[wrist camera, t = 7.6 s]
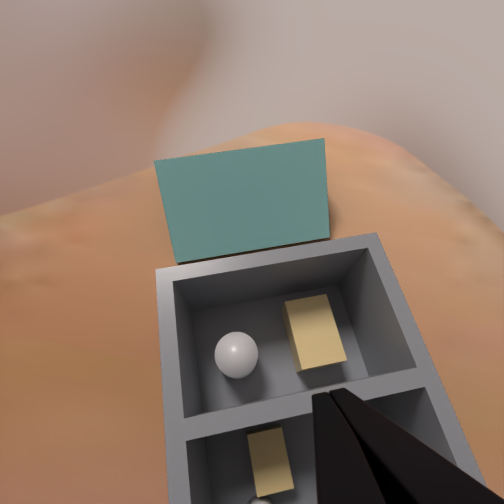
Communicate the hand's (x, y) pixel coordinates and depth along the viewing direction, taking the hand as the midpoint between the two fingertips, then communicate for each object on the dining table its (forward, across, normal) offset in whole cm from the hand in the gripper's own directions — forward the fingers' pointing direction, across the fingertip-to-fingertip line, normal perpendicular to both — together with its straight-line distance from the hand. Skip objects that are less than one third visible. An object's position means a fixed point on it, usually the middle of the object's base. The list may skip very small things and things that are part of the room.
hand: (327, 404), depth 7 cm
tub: (+6, 0, +5) cm, 8 cm away
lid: (+11, 0, -4) cm, 11 cm away
